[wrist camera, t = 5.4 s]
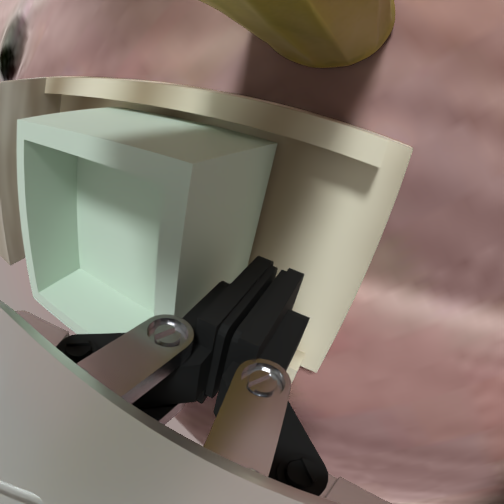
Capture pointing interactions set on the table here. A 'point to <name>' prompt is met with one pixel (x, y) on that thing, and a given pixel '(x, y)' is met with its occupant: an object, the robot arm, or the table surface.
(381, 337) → the table surface
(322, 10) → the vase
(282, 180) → the cream rectangular tray
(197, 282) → the box
